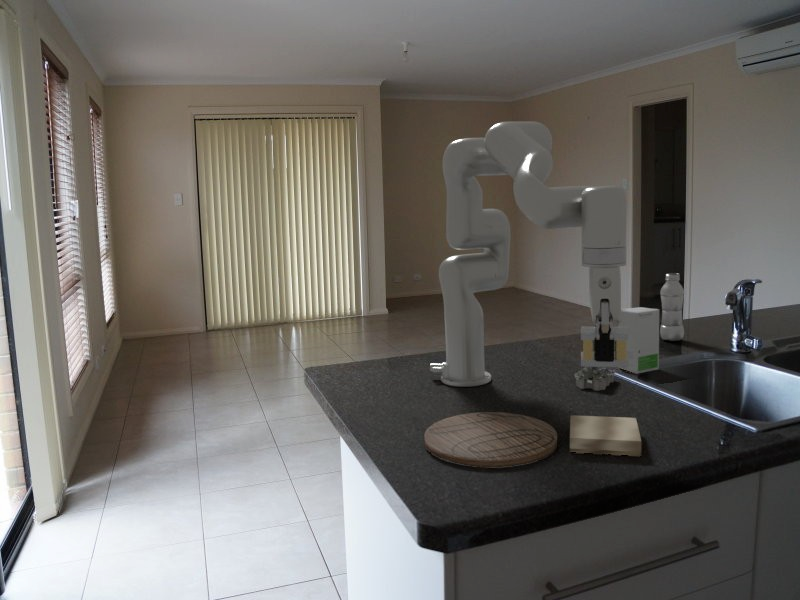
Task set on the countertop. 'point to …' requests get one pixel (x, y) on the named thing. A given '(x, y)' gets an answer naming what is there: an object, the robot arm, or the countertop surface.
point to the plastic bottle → (672, 308)
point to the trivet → (491, 439)
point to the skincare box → (641, 338)
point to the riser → (605, 435)
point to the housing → (620, 347)
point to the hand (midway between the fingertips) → (603, 355)
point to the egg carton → (594, 378)
